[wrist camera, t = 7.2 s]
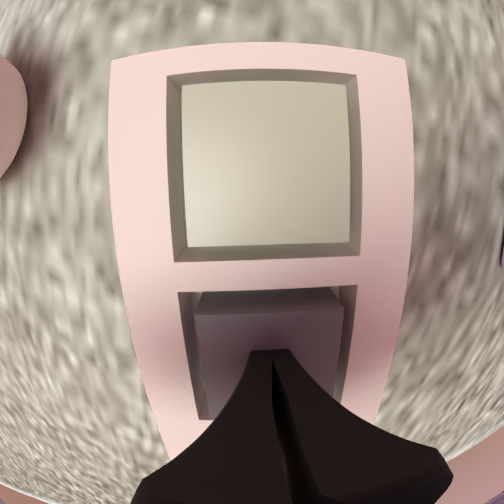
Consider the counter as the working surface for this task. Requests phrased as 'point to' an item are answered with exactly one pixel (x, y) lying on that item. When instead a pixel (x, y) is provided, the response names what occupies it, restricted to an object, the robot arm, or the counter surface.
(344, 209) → the key sage
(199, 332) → the key charcoal
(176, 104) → the pink tray
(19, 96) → the teacup
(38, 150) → the counter surface
